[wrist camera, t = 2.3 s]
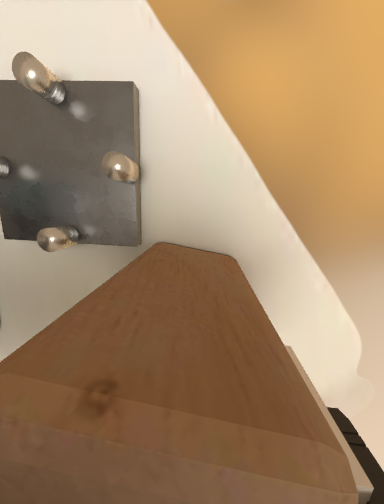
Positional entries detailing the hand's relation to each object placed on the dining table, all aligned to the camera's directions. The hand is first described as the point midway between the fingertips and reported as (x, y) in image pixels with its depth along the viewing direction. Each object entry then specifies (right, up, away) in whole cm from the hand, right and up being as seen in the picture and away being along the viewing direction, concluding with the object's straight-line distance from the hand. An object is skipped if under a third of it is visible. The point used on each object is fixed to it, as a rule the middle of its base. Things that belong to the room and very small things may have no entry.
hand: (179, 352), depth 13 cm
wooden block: (0, +3, +11) cm, 12 cm away
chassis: (-13, +16, +9) cm, 22 cm away
